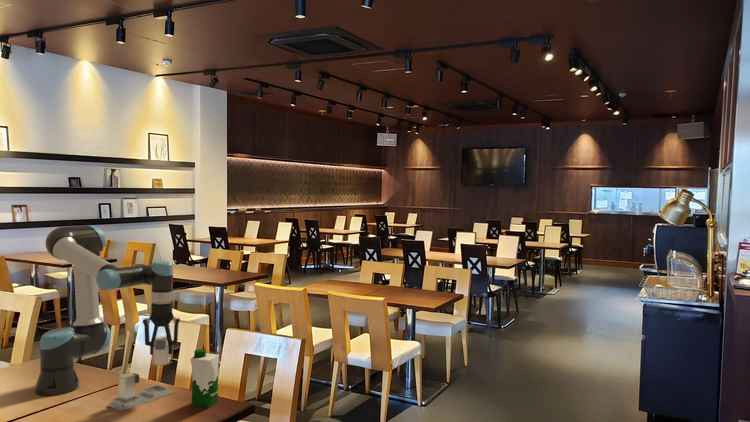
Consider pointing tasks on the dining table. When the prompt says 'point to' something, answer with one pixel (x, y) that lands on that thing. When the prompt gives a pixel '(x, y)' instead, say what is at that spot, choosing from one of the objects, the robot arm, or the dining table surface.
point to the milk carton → (204, 378)
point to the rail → (141, 397)
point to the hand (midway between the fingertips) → (161, 362)
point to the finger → (160, 350)
